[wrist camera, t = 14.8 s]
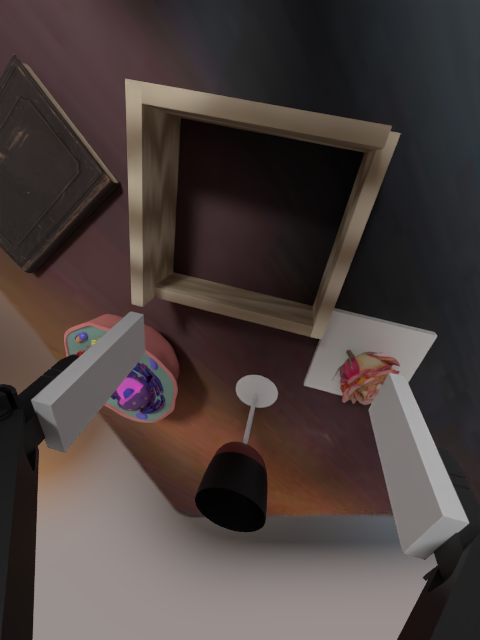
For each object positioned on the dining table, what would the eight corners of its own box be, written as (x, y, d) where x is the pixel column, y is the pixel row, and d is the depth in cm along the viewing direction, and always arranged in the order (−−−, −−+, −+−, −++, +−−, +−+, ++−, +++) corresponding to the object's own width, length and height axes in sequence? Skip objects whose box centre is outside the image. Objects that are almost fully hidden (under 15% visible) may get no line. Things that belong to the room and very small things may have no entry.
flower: (311, 368, 42) (336, 416, 38) (345, 331, 36) (379, 383, 32) (355, 364, 46) (382, 407, 42) (392, 330, 40) (428, 376, 36)
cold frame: (169, 99, 32) (125, 78, 24) (384, 138, 30) (411, 129, 22) (163, 279, 43) (131, 304, 35) (319, 317, 41) (323, 353, 33)
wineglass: (257, 364, 47) (228, 479, 30) (290, 398, 49) (280, 524, 32) (223, 385, 51) (181, 497, 34) (255, 415, 53) (230, 537, 36)
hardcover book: (-43, 184, 43) (-59, 185, 41) (30, 60, 34) (13, 54, 32) (38, 270, 48) (27, 274, 46) (123, 183, 38) (113, 184, 36)
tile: (331, 307, 40) (331, 310, 39) (434, 332, 38) (437, 336, 38) (303, 381, 47) (303, 385, 46) (389, 404, 45) (391, 409, 45)
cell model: (135, 278, 44) (87, 310, 34) (215, 369, 50) (192, 419, 40) (77, 326, 51) (24, 364, 42) (152, 401, 57) (120, 450, 47)
